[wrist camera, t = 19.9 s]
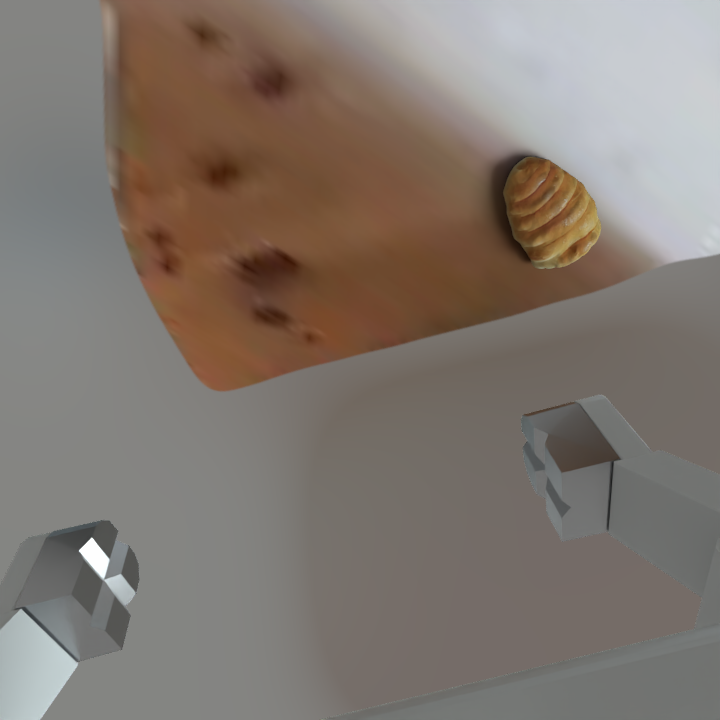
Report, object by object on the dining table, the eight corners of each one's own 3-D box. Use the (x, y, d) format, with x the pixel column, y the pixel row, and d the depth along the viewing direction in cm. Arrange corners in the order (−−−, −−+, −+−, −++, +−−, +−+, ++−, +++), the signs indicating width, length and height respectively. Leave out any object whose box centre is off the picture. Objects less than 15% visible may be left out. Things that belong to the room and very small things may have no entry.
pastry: (477, 190, 44) (493, 204, 41) (547, 132, 42) (569, 141, 39) (534, 268, 48) (552, 286, 45) (599, 218, 47) (622, 233, 43)
